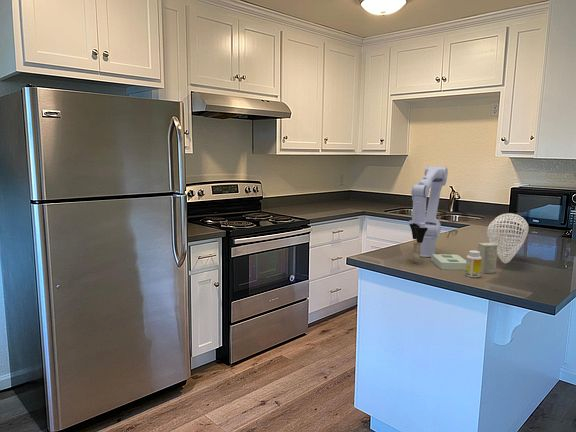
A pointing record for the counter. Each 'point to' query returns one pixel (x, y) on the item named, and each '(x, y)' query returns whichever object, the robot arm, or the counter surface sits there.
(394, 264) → the counter surface
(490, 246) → the skincare box
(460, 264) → the board
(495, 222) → the heart
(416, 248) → the dowel
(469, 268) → the supplement bottle
